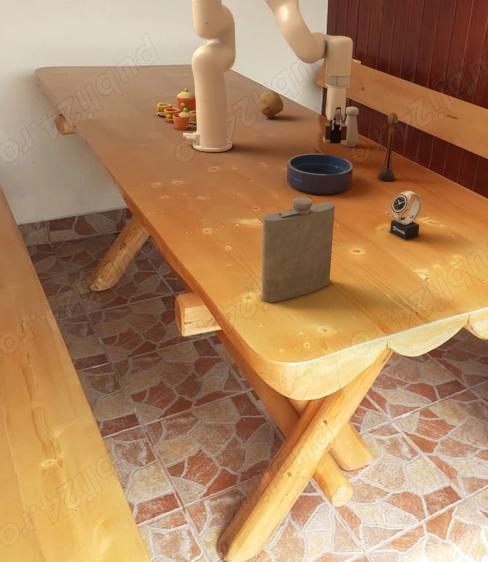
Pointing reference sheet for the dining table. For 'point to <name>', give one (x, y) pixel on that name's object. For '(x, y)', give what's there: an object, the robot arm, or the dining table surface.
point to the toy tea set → (180, 110)
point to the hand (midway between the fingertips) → (334, 140)
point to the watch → (401, 224)
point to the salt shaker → (351, 127)
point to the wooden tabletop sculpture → (389, 151)
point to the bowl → (319, 173)
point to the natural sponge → (270, 104)
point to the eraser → (328, 133)
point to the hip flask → (297, 250)
